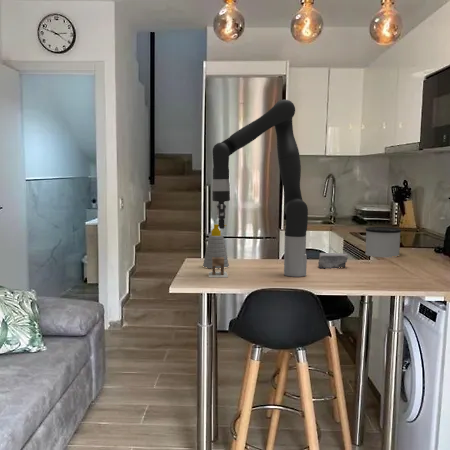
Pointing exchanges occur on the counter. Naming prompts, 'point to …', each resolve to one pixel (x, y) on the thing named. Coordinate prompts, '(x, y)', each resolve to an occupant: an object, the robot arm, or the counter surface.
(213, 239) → the soap bottle
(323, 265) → the decorative stone
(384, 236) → the container
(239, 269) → the counter surface
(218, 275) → the felt pad
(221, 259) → the wooden pronged block
